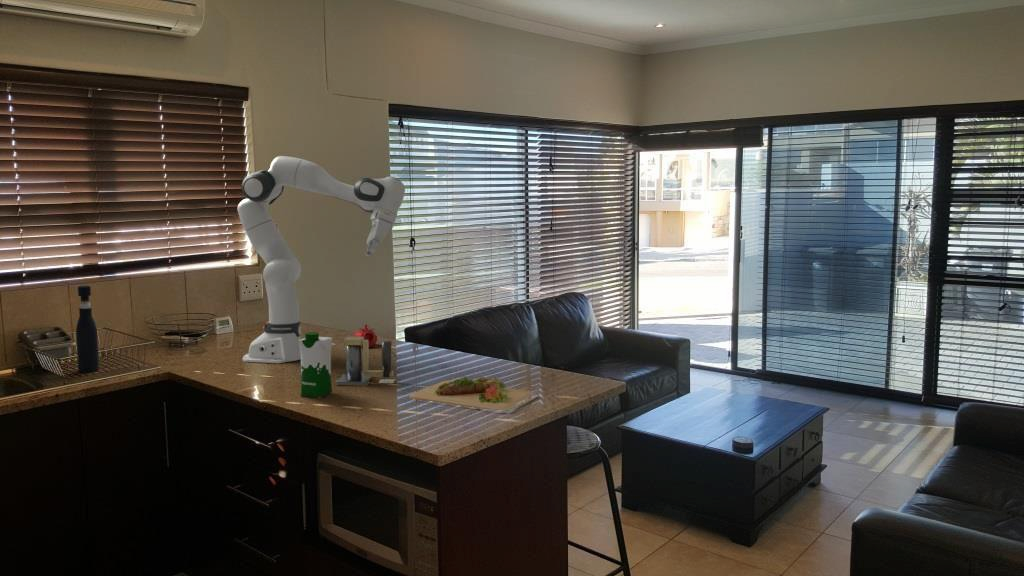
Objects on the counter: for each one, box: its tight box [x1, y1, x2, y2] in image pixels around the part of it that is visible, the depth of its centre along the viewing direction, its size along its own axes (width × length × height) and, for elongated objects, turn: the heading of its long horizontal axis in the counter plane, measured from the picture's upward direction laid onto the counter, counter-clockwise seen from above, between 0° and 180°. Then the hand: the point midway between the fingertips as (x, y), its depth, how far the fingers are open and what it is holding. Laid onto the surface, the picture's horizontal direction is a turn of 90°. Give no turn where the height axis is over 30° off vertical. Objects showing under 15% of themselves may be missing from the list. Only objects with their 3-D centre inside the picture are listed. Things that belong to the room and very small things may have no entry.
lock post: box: [336, 345, 396, 386], centre depth 257 cm, size 18×18×13 cm
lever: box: [343, 336, 394, 378], centre depth 253 cm, size 16×6×13 cm, turn 92°
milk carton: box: [299, 331, 334, 398], centre depth 236 cm, size 9×9×20 cm
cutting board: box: [409, 375, 533, 410], centre depth 236 cm, size 35×23×8 cm
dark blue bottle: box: [75, 285, 100, 373], centre depth 263 cm, size 6×6×30 cm
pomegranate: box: [353, 324, 378, 348], centre depth 313 cm, size 10×10×9 cm
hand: (369, 254), depth 274 cm, fingers open, 8 cm apart
